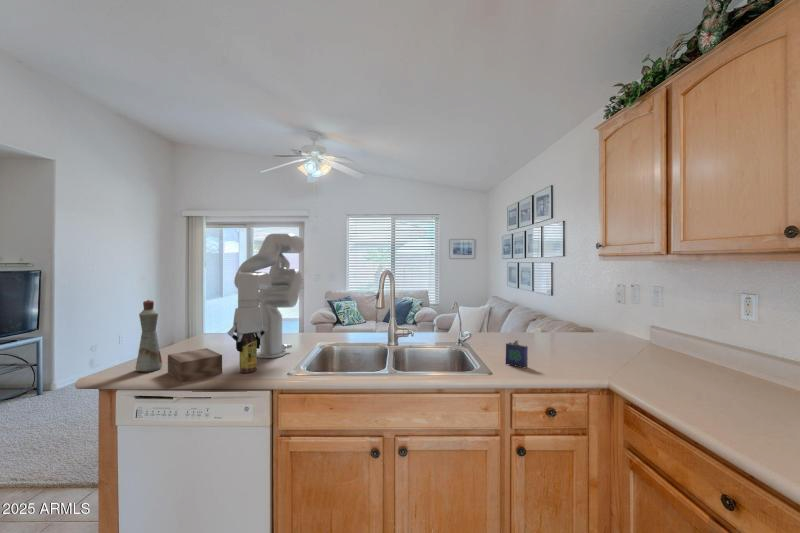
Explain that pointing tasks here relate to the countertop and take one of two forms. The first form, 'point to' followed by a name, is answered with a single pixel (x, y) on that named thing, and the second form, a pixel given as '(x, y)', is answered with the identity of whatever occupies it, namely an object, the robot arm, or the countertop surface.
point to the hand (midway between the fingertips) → (248, 349)
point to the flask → (516, 354)
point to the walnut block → (194, 364)
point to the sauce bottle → (248, 353)
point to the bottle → (148, 340)
